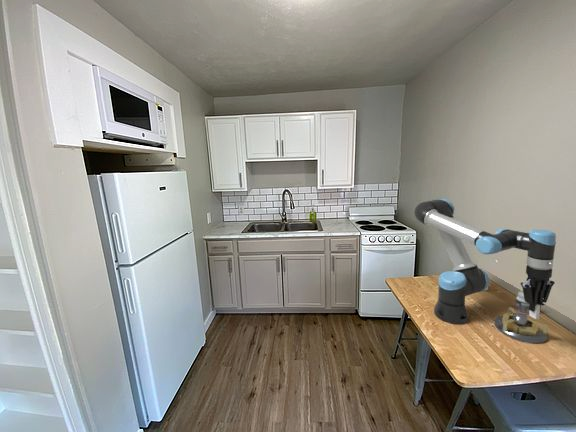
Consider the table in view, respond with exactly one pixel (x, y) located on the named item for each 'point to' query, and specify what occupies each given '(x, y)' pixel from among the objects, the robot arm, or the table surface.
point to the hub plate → (524, 338)
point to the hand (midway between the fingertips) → (533, 317)
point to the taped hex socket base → (531, 330)
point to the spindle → (520, 319)
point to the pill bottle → (521, 304)
